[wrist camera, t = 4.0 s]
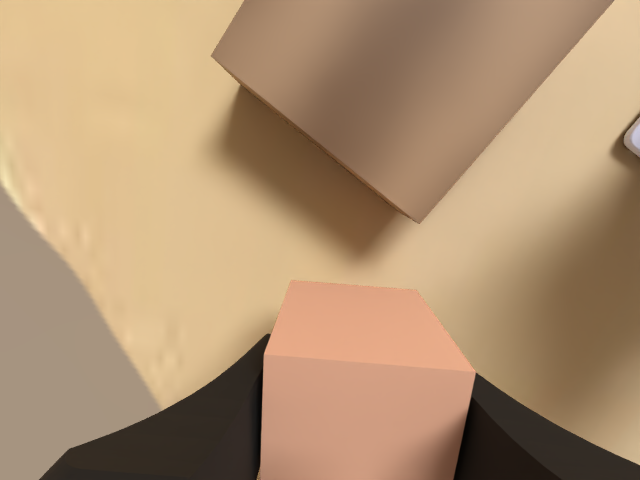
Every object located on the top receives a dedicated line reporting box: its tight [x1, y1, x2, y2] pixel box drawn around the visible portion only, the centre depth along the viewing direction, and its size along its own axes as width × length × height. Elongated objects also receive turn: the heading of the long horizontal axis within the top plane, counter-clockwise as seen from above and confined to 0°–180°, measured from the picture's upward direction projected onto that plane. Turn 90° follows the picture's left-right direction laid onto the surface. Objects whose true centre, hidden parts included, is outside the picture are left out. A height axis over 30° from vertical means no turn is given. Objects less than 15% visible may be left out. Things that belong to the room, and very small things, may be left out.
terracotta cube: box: [260, 280, 476, 480], centre depth 10 cm, size 5×5×5 cm
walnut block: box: [211, 0, 614, 224], centre depth 12 cm, size 10×10×4 cm
